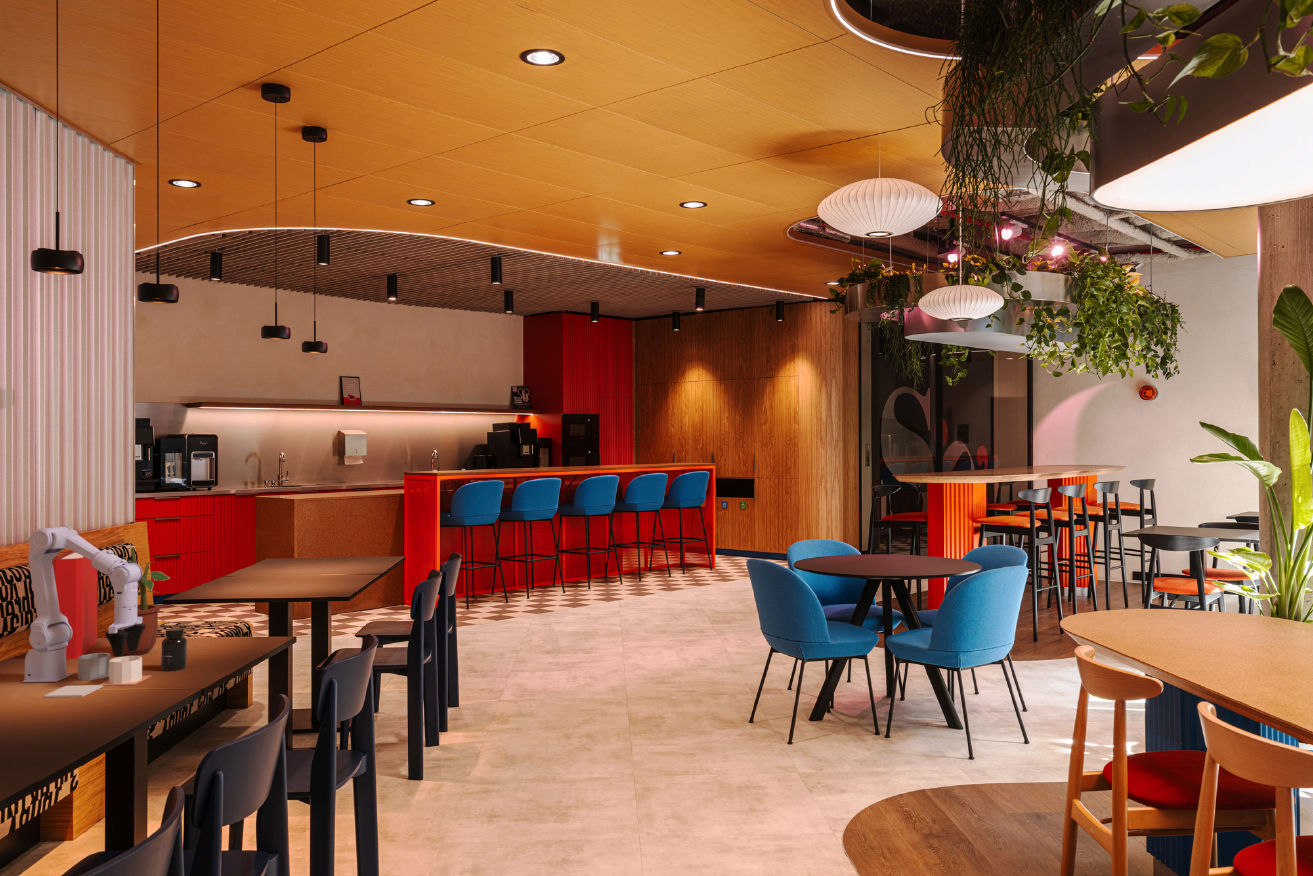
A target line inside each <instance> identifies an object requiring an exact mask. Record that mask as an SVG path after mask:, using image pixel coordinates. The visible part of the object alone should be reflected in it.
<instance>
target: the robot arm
mask: <svg viewBox="0 0 1313 876" xmlns="http://www.w3.org/2000/svg"><path fill="white" fill-rule="evenodd" d="M28 544H29V552H28V557H27V558H28V564H29V565H28V566H29V571H30V578H31V584H32V591H33V597H34V604H35V610H36V616H37V617H36V618H35V619H34V621H32V623H31V624H30V626H29V627H30V632H29V633H30V634H29V637H28V638H29V639H28V641H29V644H30V646H31V648H32V649H29V650H28V651H27V653H26V655H25V658H24V680H22V682H23V683H52V682H53V683H57V682H59V681H61V680H63V679H66V678H69V677H70V676H73V672H72V673H67V659H66V646H67V645H68V642H69V641H70V640H71V638H72V635H73V631H72V628H71V626H70V625H69V623H68V618H67V617H66V616H64V615H63V614H61V613H60V609H59V603H58V596H57V590H56V583H55V577H54V570H53V559H54V558H56V557H57V555H59V553H61V552H62V551H64V550H65V549H69V550H70V551H72V552H74V553H78V554H80V555H82V556H84V557H86V558H88V559H89V560H91V562H92V566H93V567H94V568H96V569H97V571H99V572H101V573H102V574H103V575H106V576H107V577H108V579H109V581H110V582H111V584H112V588H113V589H112V590H113V591H114V593H115V595H114V597H113V598H114V603H113V604H114V609H113V614H114V619H113V620H114V621H113V623H112V624H111V625H109V626H108V631H106V632H105V633H104V635H105V638H106V639H107V641H108V642H109V644H110V647H111V650H112V655H113V658H118V657H124V655H125V654H124V646H125V641H126V638H127V646H128V650H129V651H136V650H137V648H138V644H139V641H140V637H141V635H142V633H143V631H144V629H145V627H146V625H144V624H142V625H140V624H141V623H142V617H137V605H139V604H138V597H139V595H138V592H139V590H138V587H139V585H138V584H139V580H140V579H141V577H142V575H143V568H142V567H141V566H140V565H139V564H138V563H136V562H135V563H132V562H127V561H128V560H126V559H125V560H124V559H123V558H120V557H119V556H118V555H116V554H114V553H115V552H114V551H113V550H112V549H111V550H108V549H103V550H100V549H98V548H97V547H96V546H94V545H93V544H92V543H90V542H88V541H87V540H86V539H85V538H83V537H82V536H80V535H79V534H78V531H77V530H76V529H75V530H74V529H72V528H71V527H70V526H67V525H61V526H57V527H56V526H55V527H48V528H47V527H46V528H41V527H40V528H37V529H36V530H35V531H33V533H32V534H31V535H30V536H29V537H28ZM122 559H123V560H122ZM123 629H124V631H125V632H123V631H122V630H123Z"/></svg>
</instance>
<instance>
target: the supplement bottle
mask: <svg viewBox="0 0 1313 876" xmlns="http://www.w3.org/2000/svg"><path fill="white" fill-rule="evenodd" d="M184 635H185V631H184V628H182V627H173V628H171V627H169V628H166V629H165V638H163V639H162V640H161V652H160V653H161V655H160V656H161V657H160V659H161V661H160V662H161V663H160V667H161V670H162V671H163V672H164V671H165V672H173V671H174V672H176V671H181V670H184V669H186V667H187V665H188V663H187V662H188V661H187V658H188V639H187V638H186V637H185V636H184Z"/></svg>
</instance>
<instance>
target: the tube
mask: <svg viewBox="0 0 1313 876" xmlns="http://www.w3.org/2000/svg"><path fill="white" fill-rule="evenodd" d="M123 661H126V662H123ZM151 677H152V675H143V657H142V656H141V655H132V656H131V655H125V656H124V655H123V656H122V657H113V658H110V660H109V676H108V680H106V681H103V682H102V683H99V685H103V687H106V686H107V687H108V686H109V687H110V686H111V687H112V686H134V685H137V684H139V683H141V682H143V681H144V680H147V679H149V678H151Z"/></svg>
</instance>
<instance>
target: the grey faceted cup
mask: <svg viewBox="0 0 1313 876" xmlns="http://www.w3.org/2000/svg"><path fill="white" fill-rule="evenodd" d="M109 660H111V653H108V652H95V653H88V654H84V655H82V656H80V657H78V658H77V680H79V681H92V680H93V681H94V680H100V679H104V678H109Z"/></svg>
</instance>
